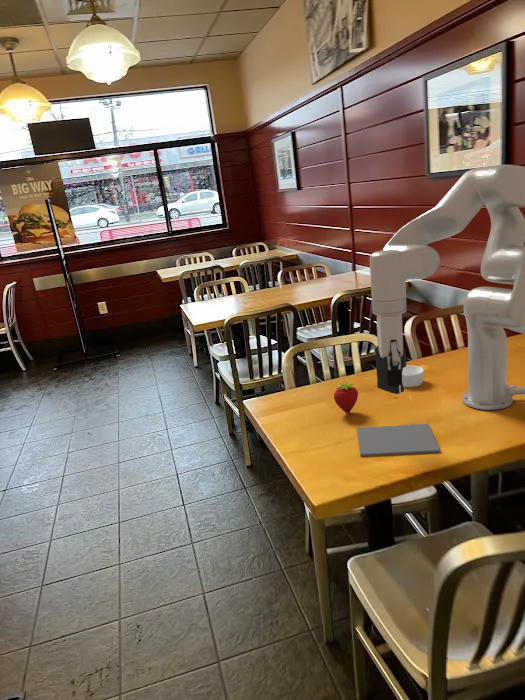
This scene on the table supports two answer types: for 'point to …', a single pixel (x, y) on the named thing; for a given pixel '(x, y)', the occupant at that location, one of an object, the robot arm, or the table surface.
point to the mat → (396, 440)
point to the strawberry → (346, 397)
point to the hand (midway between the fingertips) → (392, 379)
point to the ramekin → (412, 376)
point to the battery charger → (382, 372)
